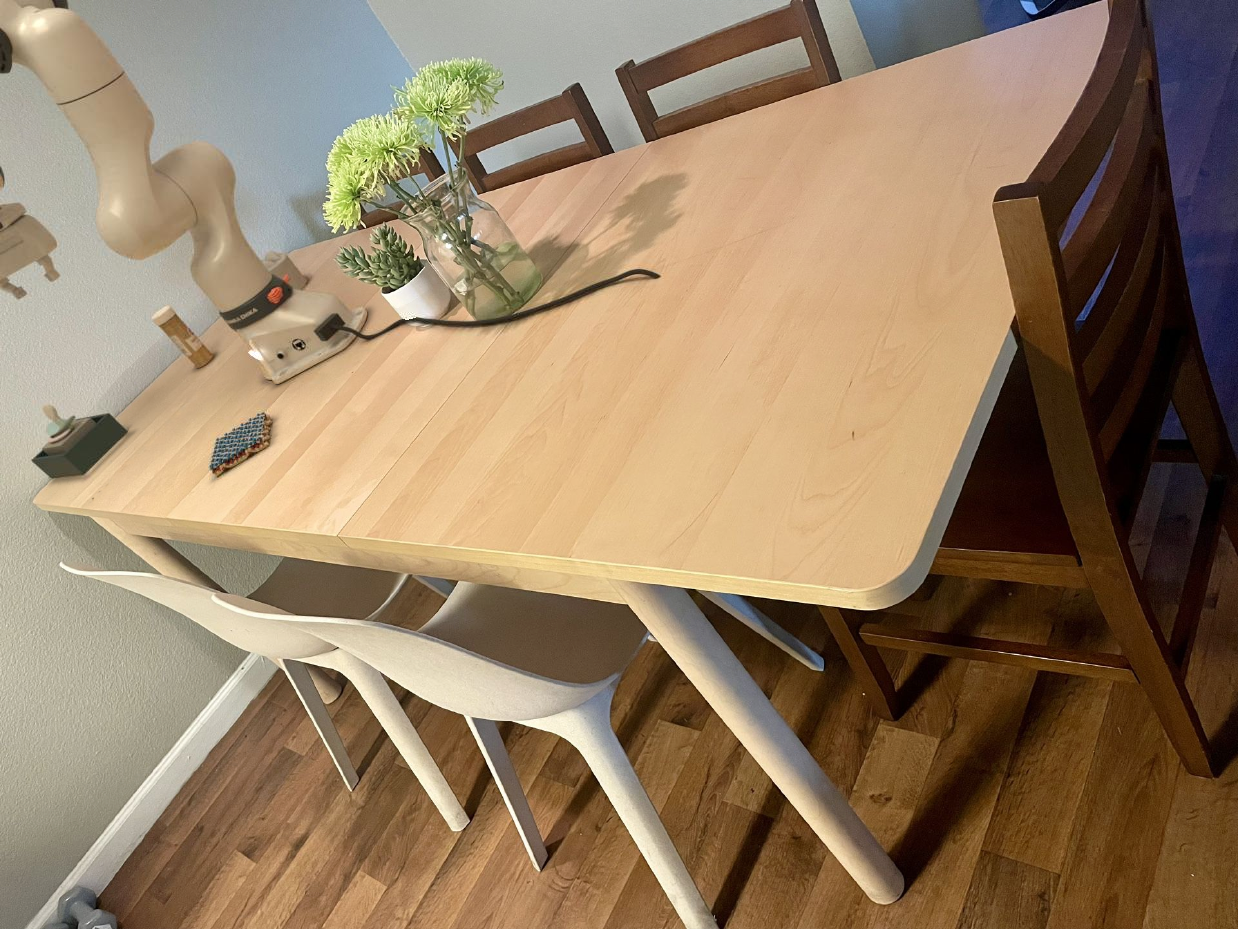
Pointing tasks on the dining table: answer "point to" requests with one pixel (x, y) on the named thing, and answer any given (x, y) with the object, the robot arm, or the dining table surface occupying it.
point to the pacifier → (57, 424)
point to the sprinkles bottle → (182, 336)
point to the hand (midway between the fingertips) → (39, 288)
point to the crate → (83, 449)
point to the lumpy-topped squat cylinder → (284, 269)
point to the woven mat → (240, 443)
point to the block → (69, 437)
